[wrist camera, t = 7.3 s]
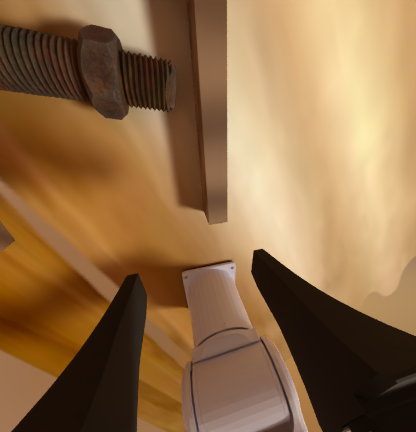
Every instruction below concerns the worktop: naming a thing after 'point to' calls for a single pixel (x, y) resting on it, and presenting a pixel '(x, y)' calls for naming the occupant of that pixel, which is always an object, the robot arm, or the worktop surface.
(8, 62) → the bolt
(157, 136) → the worktop surface
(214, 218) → the u-shaped bracket
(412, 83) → the worktop surface
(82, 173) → the worktop surface
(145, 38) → the worktop surface
